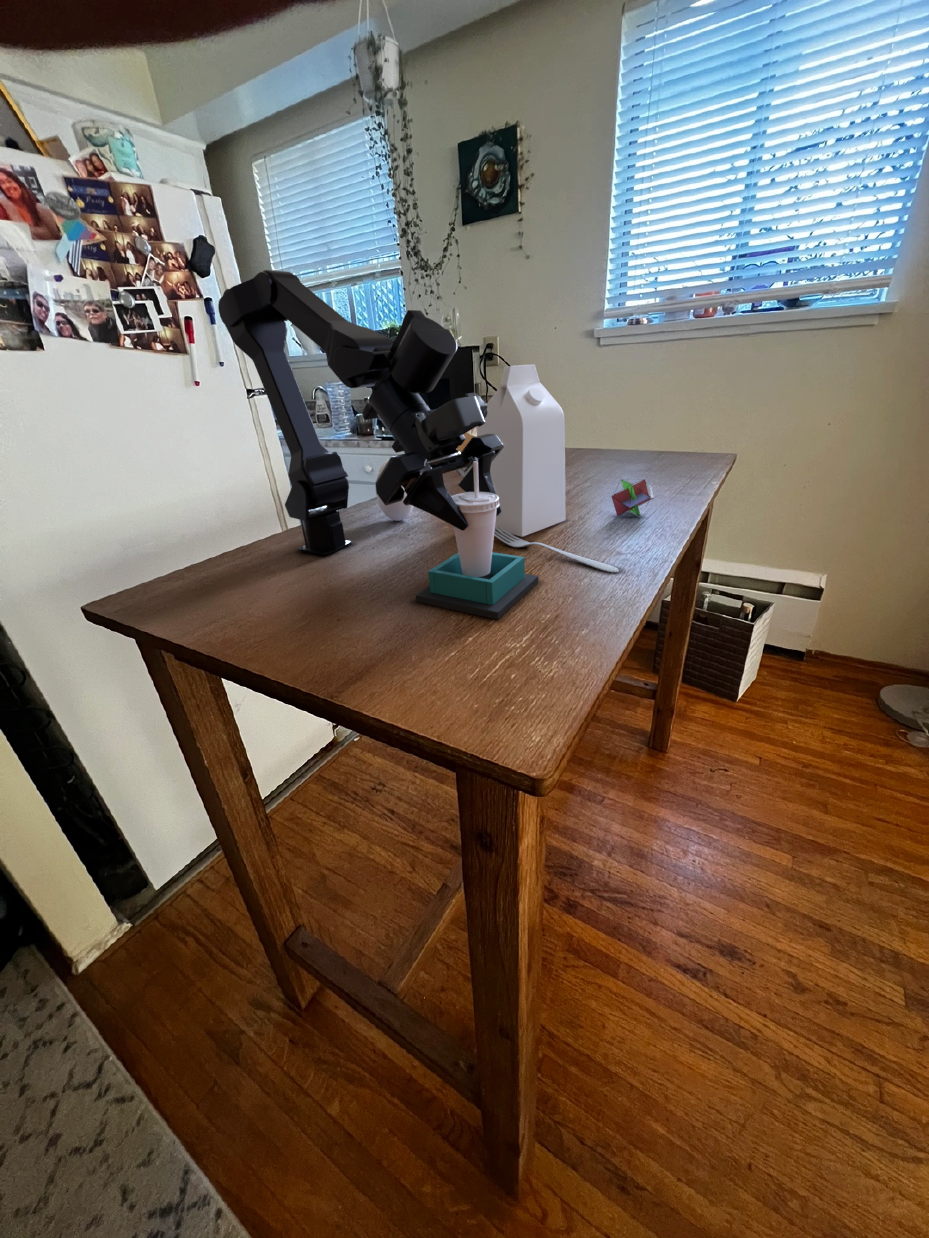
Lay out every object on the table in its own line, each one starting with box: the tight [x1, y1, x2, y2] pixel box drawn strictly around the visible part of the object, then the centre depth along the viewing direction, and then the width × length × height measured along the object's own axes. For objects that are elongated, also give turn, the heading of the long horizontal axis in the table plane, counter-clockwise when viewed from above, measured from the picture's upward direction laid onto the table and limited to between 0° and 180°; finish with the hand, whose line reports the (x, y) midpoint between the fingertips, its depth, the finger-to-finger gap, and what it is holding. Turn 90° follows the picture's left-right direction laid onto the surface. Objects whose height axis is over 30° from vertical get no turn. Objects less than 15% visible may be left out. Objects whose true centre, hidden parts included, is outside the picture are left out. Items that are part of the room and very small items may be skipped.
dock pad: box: [415, 551, 539, 621], centre depth 66 cm, size 12×12×4 cm
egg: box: [375, 458, 414, 522], centre depth 96 cm, size 7×7×12 cm
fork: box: [494, 526, 620, 573], centre depth 78 cm, size 3×24×2 cm, turn 43°
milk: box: [476, 363, 567, 538], centre depth 87 cm, size 12×12×26 cm
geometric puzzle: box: [610, 478, 655, 518], centre depth 91 cm, size 7×7×8 cm
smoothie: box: [451, 461, 500, 577], centre depth 62 cm, size 6×6×14 cm
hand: (482, 521), depth 61 cm, fingers closed on smoothie, 6 cm apart
